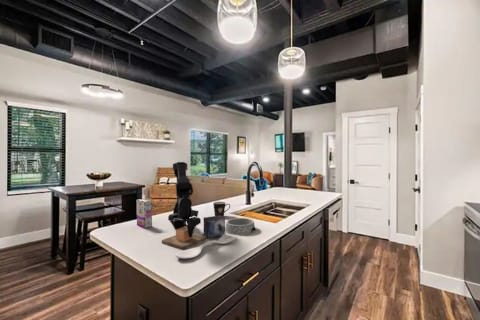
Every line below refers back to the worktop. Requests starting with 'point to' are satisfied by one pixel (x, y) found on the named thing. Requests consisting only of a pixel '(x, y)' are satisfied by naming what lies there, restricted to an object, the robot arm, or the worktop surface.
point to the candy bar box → (144, 213)
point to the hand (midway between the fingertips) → (184, 235)
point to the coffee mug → (220, 208)
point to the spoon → (196, 251)
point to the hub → (182, 234)
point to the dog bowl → (239, 226)
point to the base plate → (184, 244)
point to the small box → (214, 227)
